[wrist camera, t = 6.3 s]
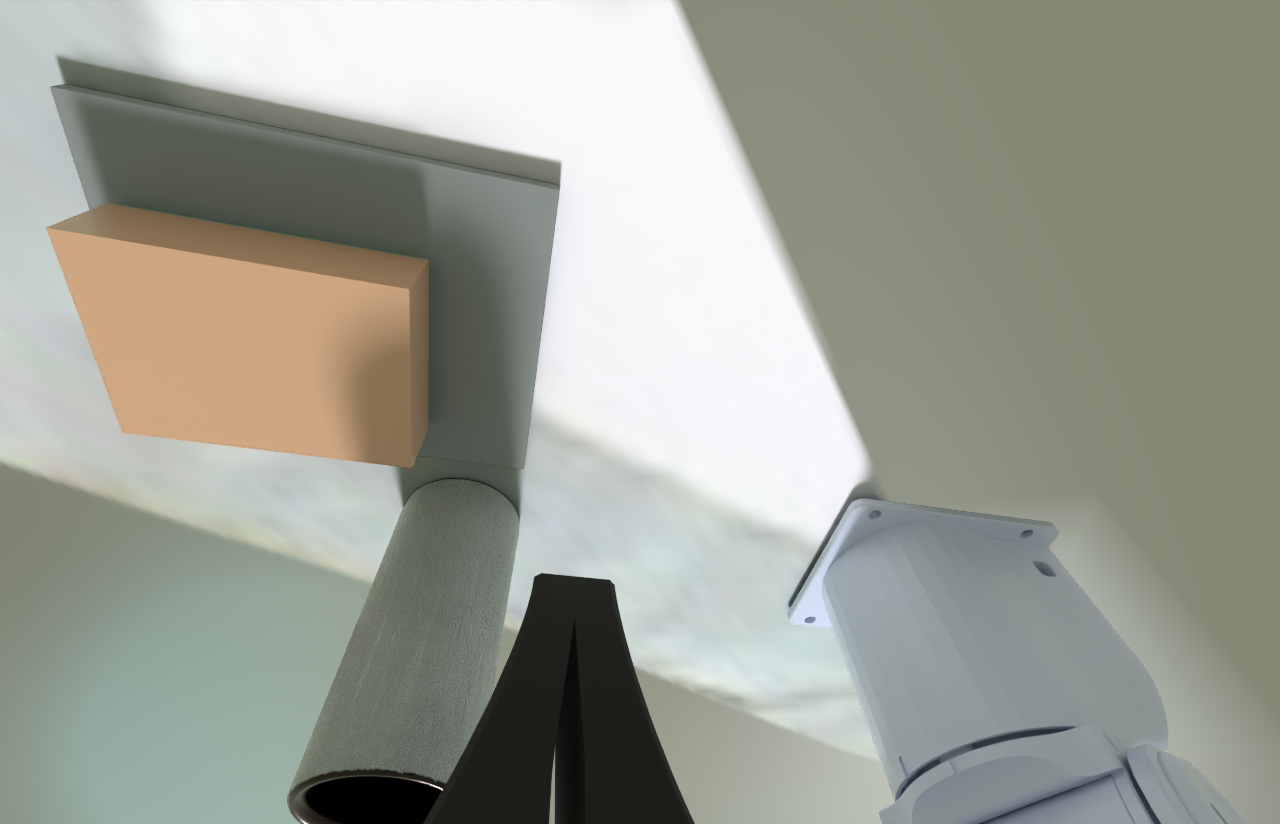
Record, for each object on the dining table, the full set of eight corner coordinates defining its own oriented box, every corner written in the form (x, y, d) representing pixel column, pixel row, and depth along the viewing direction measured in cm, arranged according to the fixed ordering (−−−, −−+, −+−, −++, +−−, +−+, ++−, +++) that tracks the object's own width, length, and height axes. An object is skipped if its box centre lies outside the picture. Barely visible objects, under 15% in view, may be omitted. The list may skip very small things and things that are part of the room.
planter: (542, 530, 24) (507, 820, 15) (455, 570, 25) (379, 859, 17) (470, 459, 21) (382, 754, 13) (378, 506, 23) (242, 806, 14)
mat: (560, 185, 16) (559, 190, 16) (524, 460, 22) (523, 469, 21) (66, 83, 14) (49, 86, 14) (168, 414, 20) (159, 422, 19)
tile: (408, 289, 15) (45, 227, 13) (412, 468, 18) (122, 432, 17) (431, 256, 16) (115, 199, 15) (430, 424, 20) (171, 388, 18)
